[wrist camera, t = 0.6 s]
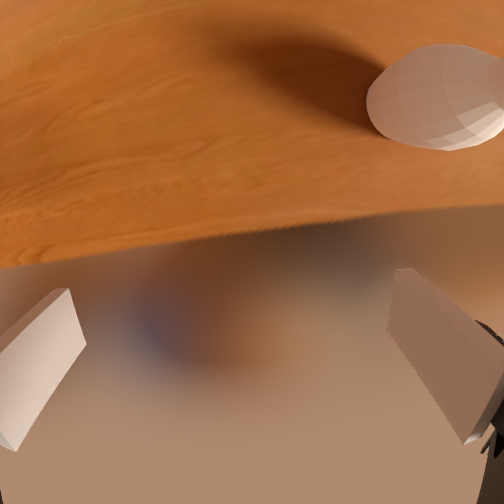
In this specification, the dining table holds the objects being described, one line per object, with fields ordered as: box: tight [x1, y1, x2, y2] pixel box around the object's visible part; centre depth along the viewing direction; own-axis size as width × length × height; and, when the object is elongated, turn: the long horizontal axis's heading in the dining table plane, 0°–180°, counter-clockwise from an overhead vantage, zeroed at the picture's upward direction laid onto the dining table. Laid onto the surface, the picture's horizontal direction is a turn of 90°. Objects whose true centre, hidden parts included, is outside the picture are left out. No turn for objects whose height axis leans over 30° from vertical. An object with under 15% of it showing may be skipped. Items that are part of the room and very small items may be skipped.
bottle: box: [366, 44, 504, 151], centre depth 21 cm, size 11×11×25 cm
